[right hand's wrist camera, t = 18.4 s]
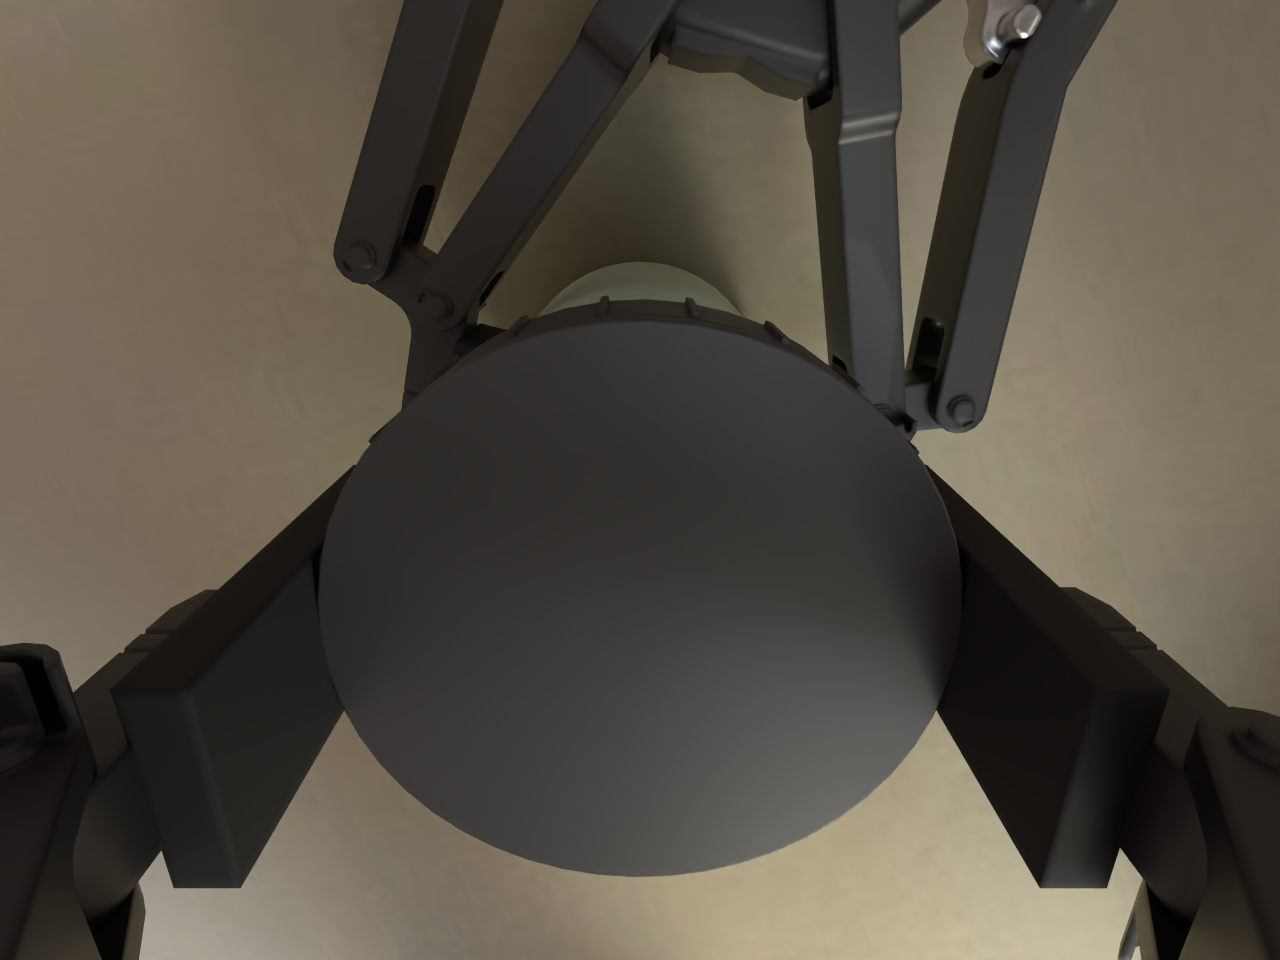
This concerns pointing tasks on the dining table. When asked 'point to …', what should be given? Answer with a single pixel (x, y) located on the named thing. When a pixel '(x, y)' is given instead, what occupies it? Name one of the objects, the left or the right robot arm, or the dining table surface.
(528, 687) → the lid
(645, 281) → the jar
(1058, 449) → the dining table surface
